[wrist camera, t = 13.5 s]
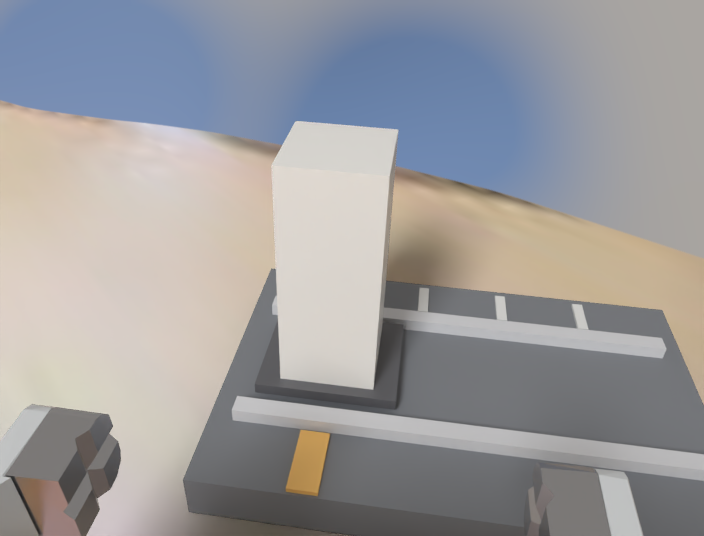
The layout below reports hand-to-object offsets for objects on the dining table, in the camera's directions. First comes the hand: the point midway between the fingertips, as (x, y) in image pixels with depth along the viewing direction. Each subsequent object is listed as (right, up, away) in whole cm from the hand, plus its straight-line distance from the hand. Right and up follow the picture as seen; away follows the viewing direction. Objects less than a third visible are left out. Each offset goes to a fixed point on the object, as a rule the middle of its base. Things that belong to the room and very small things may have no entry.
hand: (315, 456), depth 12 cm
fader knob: (0, -1, +17) cm, 17 cm away
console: (+6, -3, +17) cm, 19 cm away
